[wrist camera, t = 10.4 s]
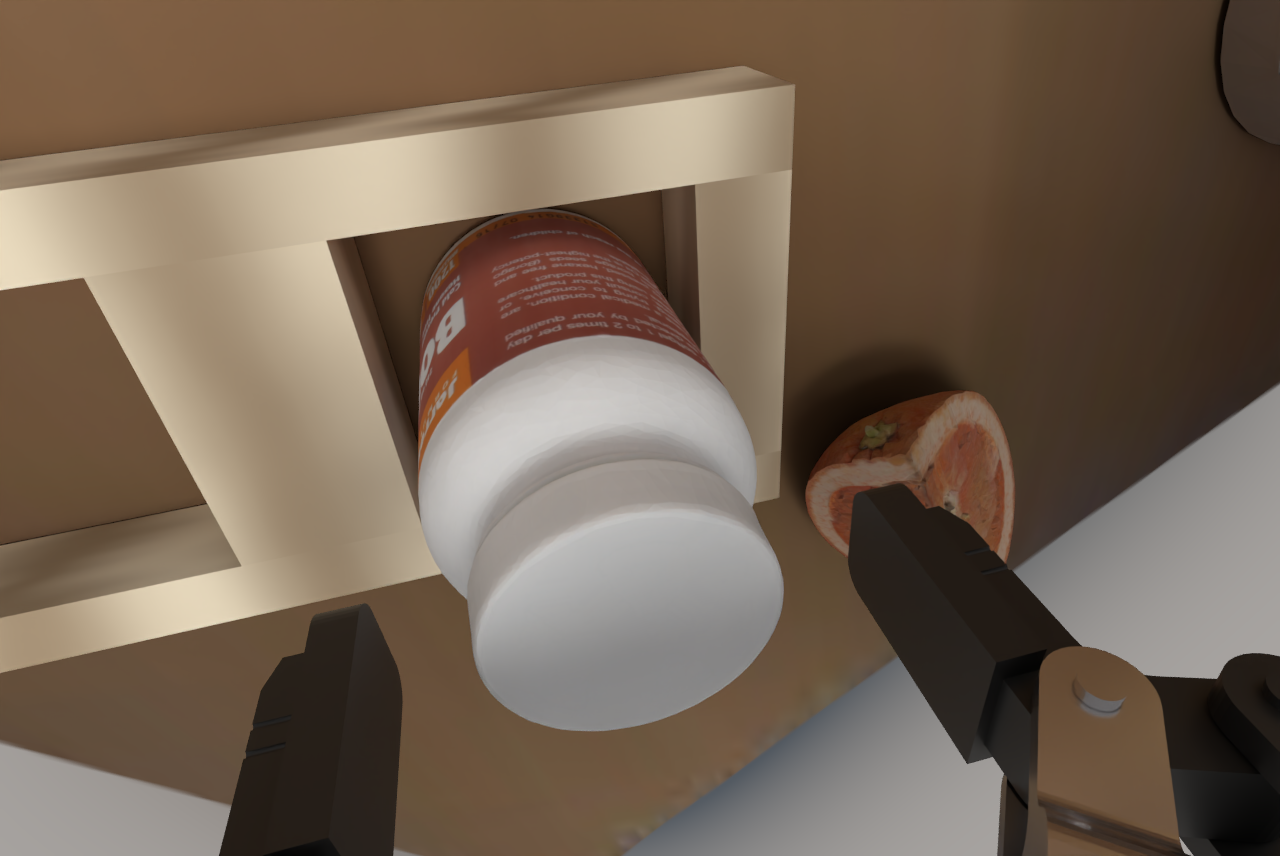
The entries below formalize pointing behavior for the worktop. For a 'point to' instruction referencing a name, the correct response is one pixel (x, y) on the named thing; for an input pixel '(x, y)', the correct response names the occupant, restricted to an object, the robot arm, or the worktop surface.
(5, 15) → the worktop surface
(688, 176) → the rail
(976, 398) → the fruit slice
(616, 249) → the pill bottle
